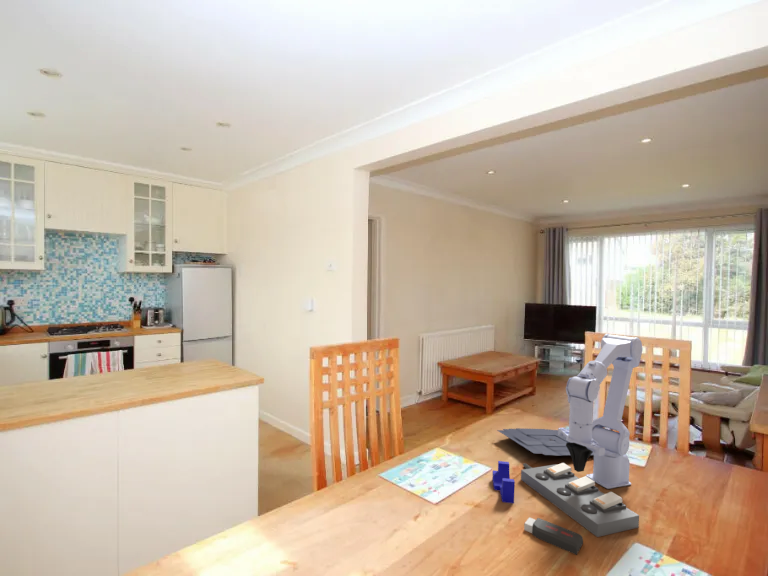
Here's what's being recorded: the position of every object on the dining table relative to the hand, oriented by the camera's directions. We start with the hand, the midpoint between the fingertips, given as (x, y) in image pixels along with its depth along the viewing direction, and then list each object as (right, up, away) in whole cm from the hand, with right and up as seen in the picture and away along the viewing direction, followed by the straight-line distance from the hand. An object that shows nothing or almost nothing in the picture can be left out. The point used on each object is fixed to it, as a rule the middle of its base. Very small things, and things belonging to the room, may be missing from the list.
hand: (579, 470), depth 112 cm
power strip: (-3, -8, +2) cm, 9 cm away
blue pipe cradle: (-20, -8, +3) cm, 22 cm away
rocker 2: (+3, -4, -8) cm, 10 cm away
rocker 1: (-2, -3, +8) cm, 9 cm away
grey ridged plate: (+5, -7, +34) cm, 36 cm away
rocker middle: (+1, -4, 0) cm, 4 cm away
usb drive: (-14, -9, -17) cm, 24 cm away
